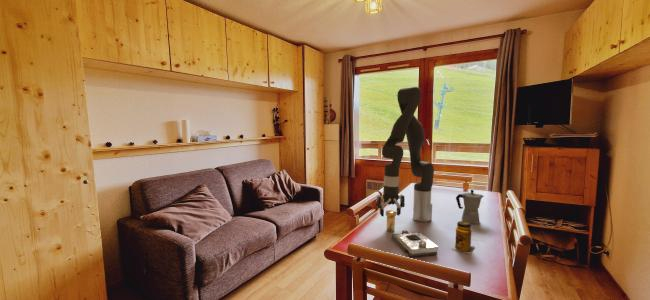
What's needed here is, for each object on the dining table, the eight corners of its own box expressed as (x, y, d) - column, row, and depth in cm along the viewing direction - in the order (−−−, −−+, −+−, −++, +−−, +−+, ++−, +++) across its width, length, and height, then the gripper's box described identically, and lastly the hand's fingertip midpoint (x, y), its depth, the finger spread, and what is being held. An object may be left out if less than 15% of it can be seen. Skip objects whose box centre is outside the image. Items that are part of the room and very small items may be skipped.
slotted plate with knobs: (414, 235, 134) (414, 225, 134) (437, 255, 115) (438, 243, 114) (391, 237, 132) (391, 226, 132) (411, 258, 113) (411, 245, 112)
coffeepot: (477, 217, 158) (478, 187, 156) (487, 224, 148) (489, 191, 146) (450, 218, 157) (452, 187, 155) (459, 224, 148) (461, 192, 146)
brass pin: (393, 228, 143) (393, 210, 142) (397, 232, 138) (397, 213, 137) (383, 229, 143) (384, 210, 141) (387, 233, 138) (388, 214, 136)
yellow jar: (452, 249, 120) (453, 223, 119) (457, 242, 127) (458, 217, 125) (470, 254, 116) (471, 227, 114) (474, 247, 122) (476, 221, 121)
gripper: (401, 182, 143) (399, 212, 144) (375, 183, 140) (374, 213, 142) (407, 185, 135) (406, 217, 137) (380, 186, 133) (379, 218, 135)
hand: (390, 215), depth 139 cm, fingers open, 8 cm apart
